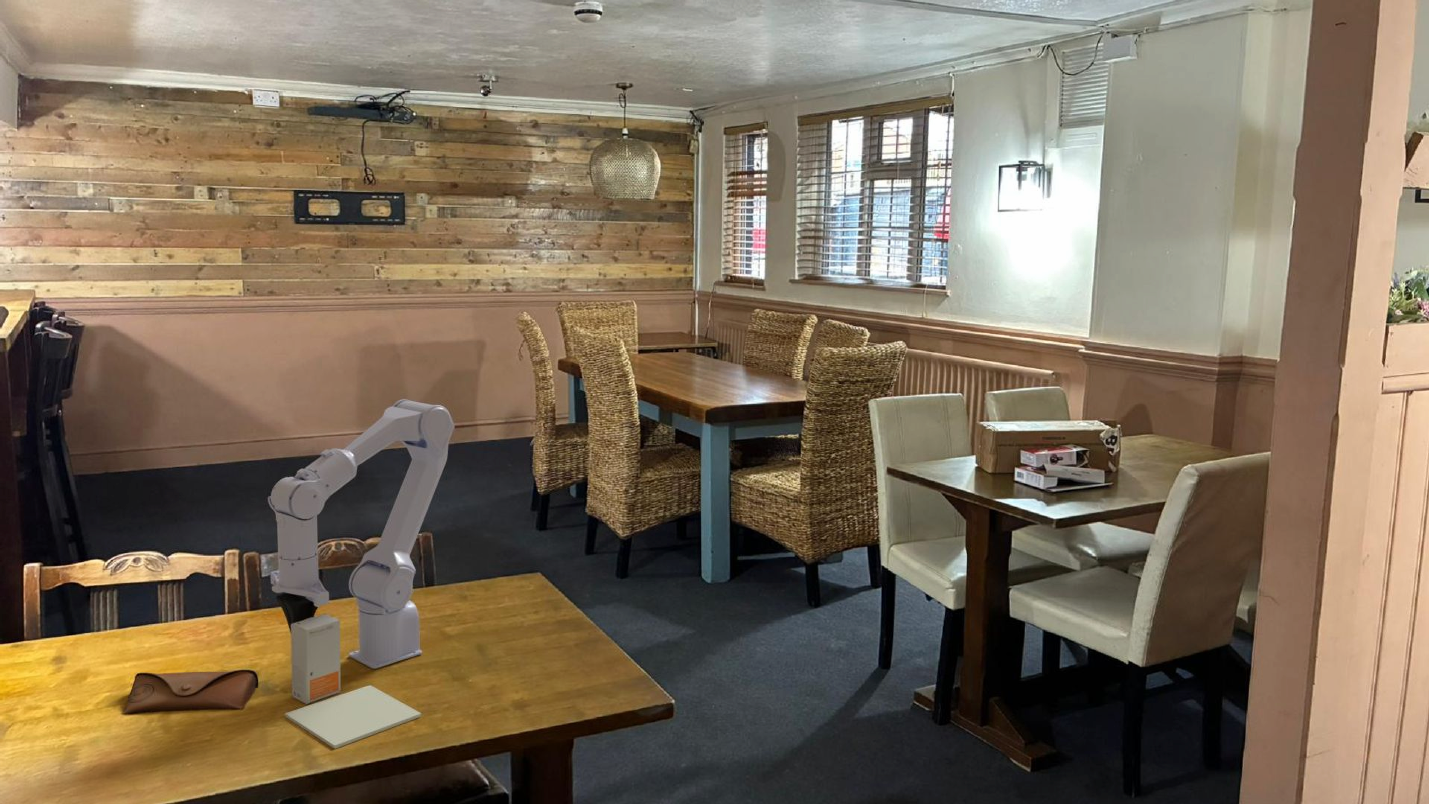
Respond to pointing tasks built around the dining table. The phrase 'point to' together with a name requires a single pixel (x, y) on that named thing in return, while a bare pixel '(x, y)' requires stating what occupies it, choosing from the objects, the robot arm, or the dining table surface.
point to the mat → (352, 716)
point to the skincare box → (315, 658)
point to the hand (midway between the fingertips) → (300, 638)
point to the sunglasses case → (191, 691)
